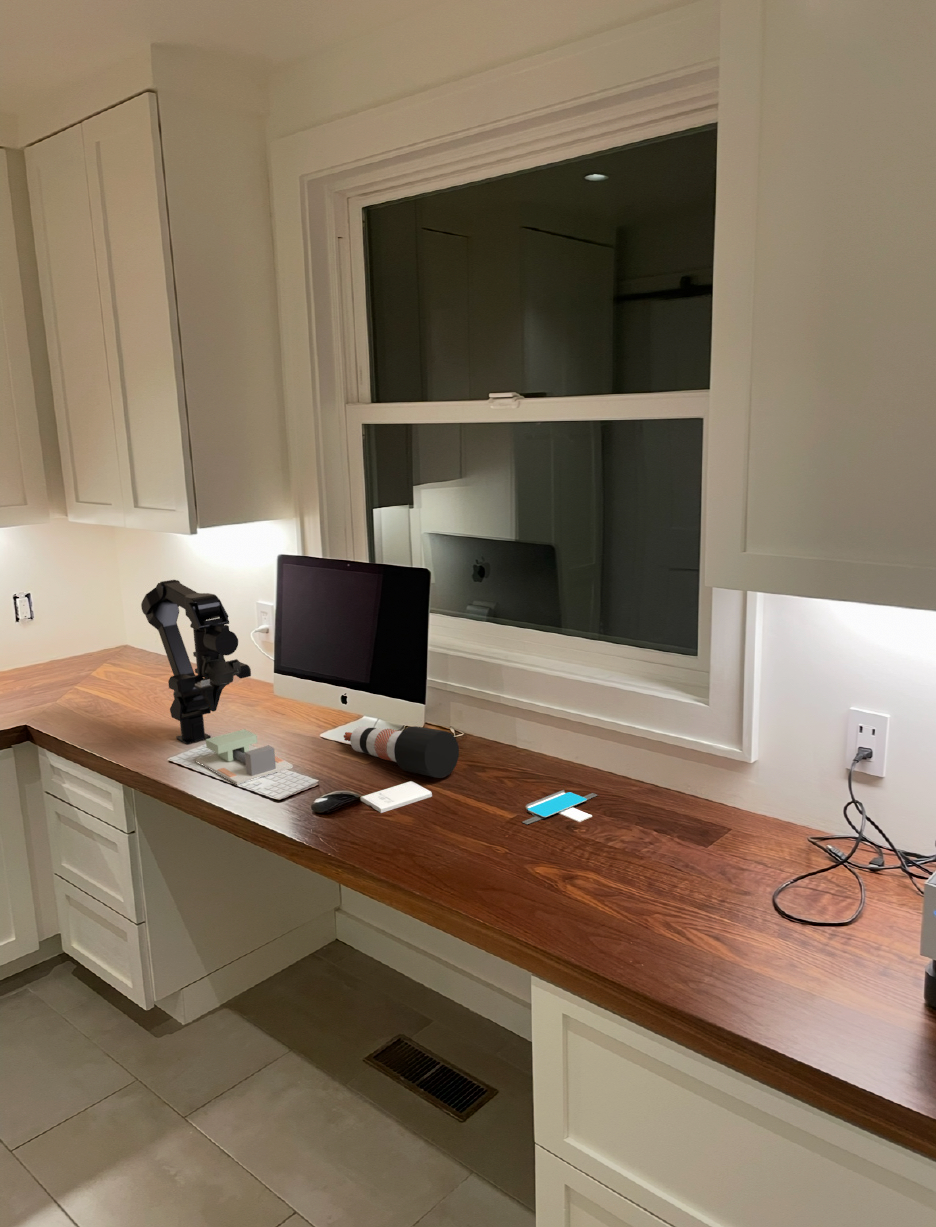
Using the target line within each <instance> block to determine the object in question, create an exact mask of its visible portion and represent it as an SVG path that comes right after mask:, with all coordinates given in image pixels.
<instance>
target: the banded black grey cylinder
mask: <svg viewBox="0 0 936 1227" xmlns="http://www.w3.org/2000/svg"><path fill="white" fill-rule="evenodd" d="M343 738H344V741H348V742H350V745H351V748H352V749H353V751H355V752H359V753H363V754H366V755H370V756H373V757H378V758H380V759H382V760H386V761H390V762H394V763H396V764H397V765H398V768H400V769H401V770H403V771H406V772H408V773H409V772H410V773H414V774H418V775H423V776H426V777H427V776H428V777H432V778H435V779H436V778H437V779H438V778H439V779H443V778H446V777H447V776H449V775H450V774H451V773H453V771H454V770H455V768H456V766H457V763H458V760H459V757H460V747H459V743H458V742H459V741H457V739H456V737H455V735H453V734H452V733H451V732H450V731H449V732H448V731H446V730H441V729H434V728H430V727H429V728H427V727H422V726H416V725H415V726H408V727H406V728H404V729H403V730H397V729H392V728H381V727H378V728H377V727H367V726H358V727H355V729H354V730H353V731H352V732H350V731H349V732H345V733H344V735H343Z"/></svg>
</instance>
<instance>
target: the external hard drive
mask: <svg viewBox="0 0 936 1227" xmlns="http://www.w3.org/2000/svg"><path fill="white" fill-rule="evenodd" d="M432 797H433V793H432V791H431V790H429V789H427V788H425V787H423V786H422V785H420V784H418V783H416V782H414V781H412V780H410V781H407V782H404V783H401V784H398V785H394V786H391V787H388V788H385V789H381V790H379V791H374V792H372V793H369V794H366V795H362V796H360V802H362V803H364V804H365V805H367V806H369V807H372V809H373V810H376V811H377V812H378V813H380V814H382V813H385V812H388V811H391V810H395V809H398V808H402V807H404V806H407V805H410V804H413V803H417V802H419V801H422V800H426V799H429V798H432Z"/></svg>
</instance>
